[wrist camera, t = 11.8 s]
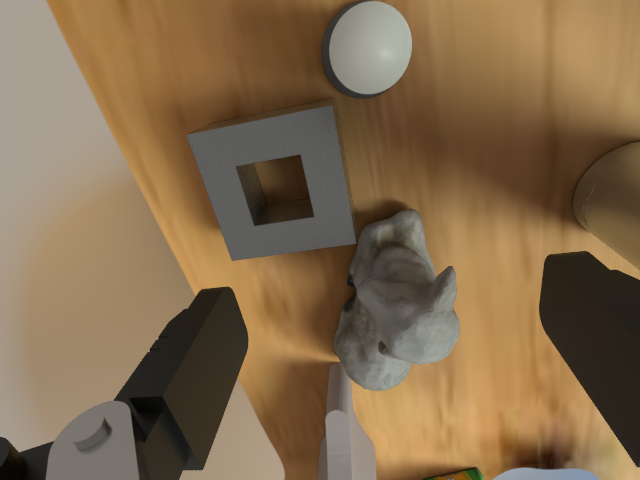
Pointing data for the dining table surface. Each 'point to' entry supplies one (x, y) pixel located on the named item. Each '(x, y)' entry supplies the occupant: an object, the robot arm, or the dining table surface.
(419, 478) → the dining table surface
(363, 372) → the sculpture
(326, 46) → the coaster
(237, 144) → the housing
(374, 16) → the teal canister
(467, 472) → the chalk box
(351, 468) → the grey piece
